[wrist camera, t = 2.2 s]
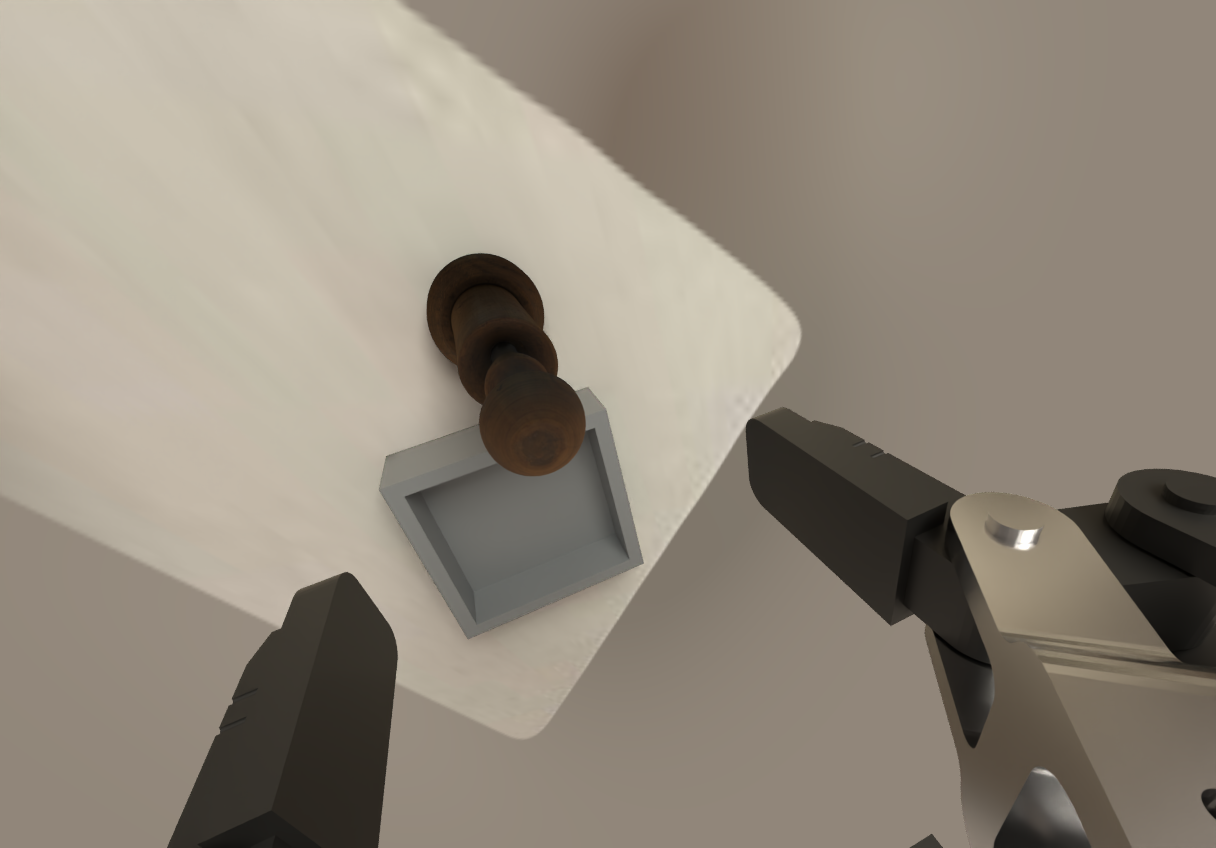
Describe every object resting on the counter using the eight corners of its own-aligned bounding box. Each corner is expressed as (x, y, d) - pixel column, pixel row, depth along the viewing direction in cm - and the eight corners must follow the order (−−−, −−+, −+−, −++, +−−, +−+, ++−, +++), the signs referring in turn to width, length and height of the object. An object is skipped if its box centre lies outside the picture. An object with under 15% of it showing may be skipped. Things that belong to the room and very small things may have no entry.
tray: (465, 598, 36) (468, 639, 32) (386, 456, 29) (378, 489, 25) (625, 531, 38) (643, 563, 35) (588, 387, 31) (606, 408, 28)
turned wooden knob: (529, 369, 29) (626, 543, 14) (423, 357, 27) (401, 553, 12) (545, 264, 27) (682, 339, 12) (430, 241, 25) (414, 297, 9)
